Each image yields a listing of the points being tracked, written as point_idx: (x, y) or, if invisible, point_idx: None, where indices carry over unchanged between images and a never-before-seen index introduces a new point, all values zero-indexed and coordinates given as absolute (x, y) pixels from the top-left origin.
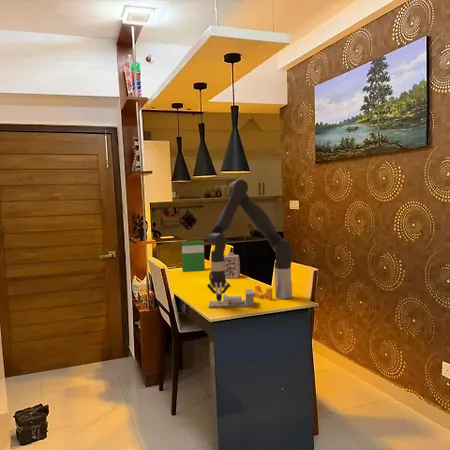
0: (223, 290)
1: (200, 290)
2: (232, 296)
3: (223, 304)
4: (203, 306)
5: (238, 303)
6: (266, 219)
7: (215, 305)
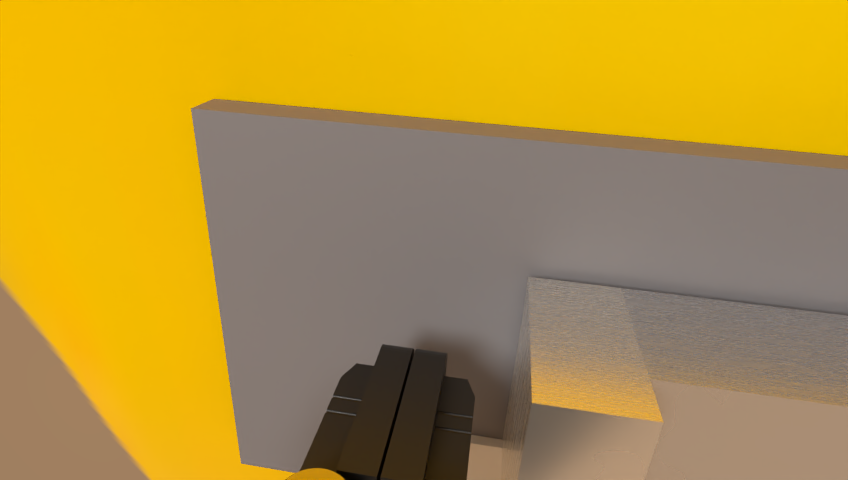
0: None
1: None
2: (811, 465)
3: (499, 473)
4: (144, 323)
5: None
6: None
7: None
